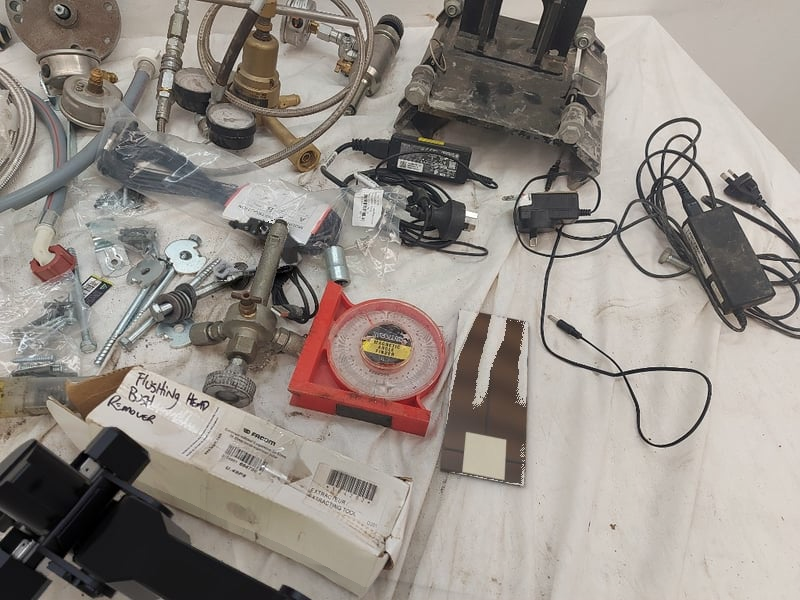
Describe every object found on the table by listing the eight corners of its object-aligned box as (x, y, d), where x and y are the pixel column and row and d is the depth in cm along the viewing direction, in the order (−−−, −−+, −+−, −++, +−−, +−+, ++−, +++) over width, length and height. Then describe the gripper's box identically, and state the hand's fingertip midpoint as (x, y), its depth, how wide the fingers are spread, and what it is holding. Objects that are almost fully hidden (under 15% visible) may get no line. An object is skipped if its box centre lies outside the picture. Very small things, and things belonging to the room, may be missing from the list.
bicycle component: (214, 287, 93) (306, 273, 97) (208, 247, 89) (303, 235, 94) (209, 253, 102) (293, 243, 107) (203, 216, 99) (290, 206, 103)
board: (522, 487, 82) (525, 483, 81) (439, 470, 82) (441, 467, 81) (527, 325, 98) (529, 321, 97) (458, 312, 98) (459, 307, 97)
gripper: (97, 395, 57) (53, 394, 68) (-76, 576, 47) (-94, 541, 58) (178, 461, 62) (125, 451, 73) (38, 639, 51) (1, 596, 62)
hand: (46, 503), depth 66 cm, fingers closed on two-way radio, 5 cm apart
